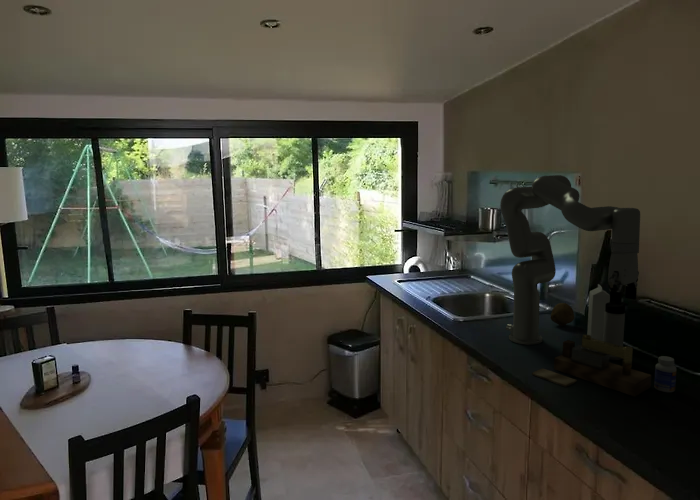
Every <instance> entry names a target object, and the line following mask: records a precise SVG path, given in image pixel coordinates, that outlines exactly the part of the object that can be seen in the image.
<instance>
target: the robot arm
mask: <svg viewBox="0 0 700 500" xmlns="http://www.w3.org/2000/svg"><path fill="white" fill-rule="evenodd" d="M580 197H581V196H580V192H579V190H577V189H576V188H574V187H572V183H571V181H570V179H569V178H568V177H566V176H565V175H560V174H556V175H555V174H554V175H542V176H539V177H537V178H536V179H535V180H534V181H533V182H532V184H531V186H518V187H513V188H510V189H508V190H506V191H505V192H504V193H503V195H502V197H501V199H500V213H501V216H502V218H503V220H504V224H505V228H506V233H507V238H508V243H509V248H510V251H511V254H512V255H513V256H514V257H515V258H519V259H522V258H523V259H524V258H529V257H532V259H530V260H523V261H520V262H517V263H516V264H515V265H514V266H512V269H511V278H512V279H511V280H512V285H513V316H512V317H513V318H512V319H513V320H512V323H513V324H511V323H508V324H506V327H505V330H506V331H508V332H510V334H509V335H508V339H509V340H510V341H511V342H512V343H515V344H520V345H528V346H533V345H540V344H541V343H542V342H543V339H544V338H543V337H542V335H540V334H539V333H540V332H539V331H540V328H539V327H540V326H539V325H540V304H541V302H540V301H541V299H540V292H539V290H538V288H537V285H540V284H544V283H549V282H551V281H552V280H553V279H554V278H555V276H556V263H555V260H554V255H553V250H552V249H553V248H552V245H551V241H550V240H549V237H548V236H547V235H546V234H545V233H543V232H541V231H531V228H530V223H529V220H528V217H526V215H525V214H524V212H522V210H528V209H529V210H530V209H540V208H543V207H545V206H548V205H550V206H552V207H554V208H556V209H558V210H559V211H561V214H562V216H563V218H564V219H565V220H566V221H567V222H568V223H570V224H572V225H574V226H575V227H577V228H579V229H581V230H583V231H585V232H586V231H587V232H598V231H607V230H611V243H610V244H611V245H610V247H611V248H610V252H611V254H610V258H609V263H608V264H609V265H608V275H607V283H608V288H609V289H608V290H609V295H610V304H615V305H621V302H622V292H621V290H622V288H623V287H624V286H625V287H624V288H625V292H624V298H625V299H627V300H636V299H637V289H638V288H637V287H638V282H639V276H640V272H639V256H638V254H639V253H640V233H641V232H640V231H641V229H640V228H641V210H640V209H638V208H636V207H618V206H612V205H611V206H609V205H608V206H596V207H595V206H594V207H590V206H587V205H585V204H583V203H581V202H580Z"/></svg>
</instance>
